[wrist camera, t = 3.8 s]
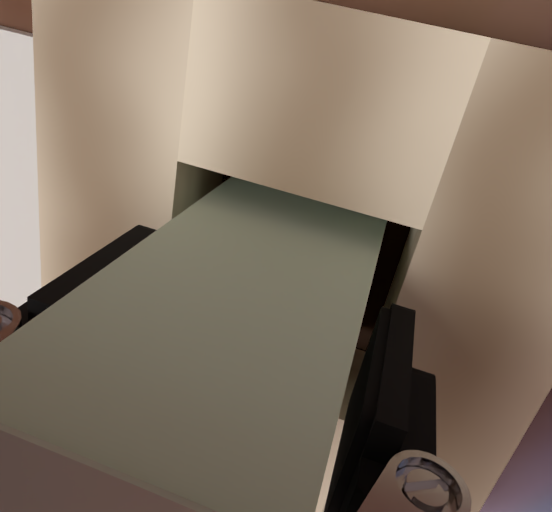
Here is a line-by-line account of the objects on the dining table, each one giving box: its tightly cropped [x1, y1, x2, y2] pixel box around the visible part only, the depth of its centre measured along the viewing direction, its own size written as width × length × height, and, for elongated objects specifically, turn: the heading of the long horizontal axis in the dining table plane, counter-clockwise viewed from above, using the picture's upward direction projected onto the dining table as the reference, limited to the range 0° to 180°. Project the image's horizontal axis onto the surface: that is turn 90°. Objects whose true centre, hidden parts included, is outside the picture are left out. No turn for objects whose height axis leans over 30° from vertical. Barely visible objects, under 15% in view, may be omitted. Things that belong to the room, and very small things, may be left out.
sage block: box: [0, 177, 387, 512], centre depth 11 cm, size 4×4×12 cm
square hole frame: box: [32, 0, 552, 512], centre depth 14 cm, size 14×14×4 cm
